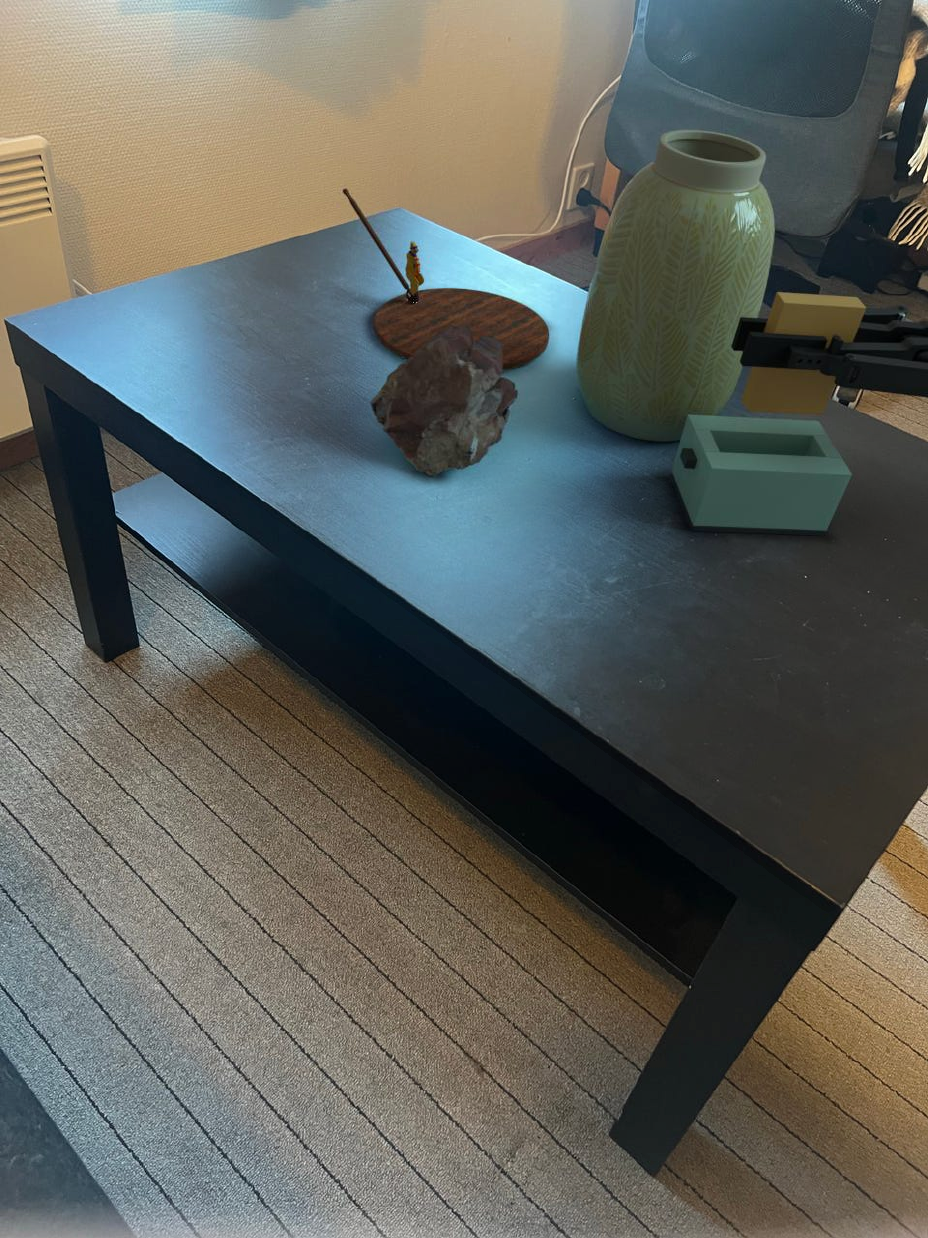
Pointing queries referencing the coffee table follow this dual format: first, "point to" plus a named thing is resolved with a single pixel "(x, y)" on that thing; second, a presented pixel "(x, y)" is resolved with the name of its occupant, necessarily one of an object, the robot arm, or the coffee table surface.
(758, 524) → the toaster
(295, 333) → the coffee table surface
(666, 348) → the vase
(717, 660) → the coffee table surface
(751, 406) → the toast
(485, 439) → the mineral specimen
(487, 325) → the incense holder
